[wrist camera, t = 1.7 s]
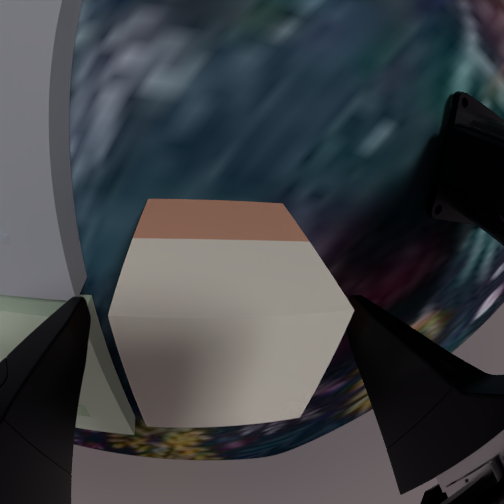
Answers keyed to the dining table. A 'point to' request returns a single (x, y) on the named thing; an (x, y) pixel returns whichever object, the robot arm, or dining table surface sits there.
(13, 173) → the plate grey
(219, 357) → the block
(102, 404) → the plate green
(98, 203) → the dining table surface
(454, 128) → the robot arm
